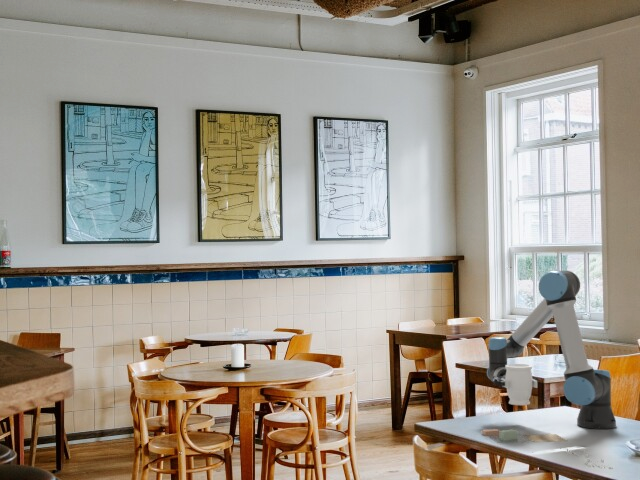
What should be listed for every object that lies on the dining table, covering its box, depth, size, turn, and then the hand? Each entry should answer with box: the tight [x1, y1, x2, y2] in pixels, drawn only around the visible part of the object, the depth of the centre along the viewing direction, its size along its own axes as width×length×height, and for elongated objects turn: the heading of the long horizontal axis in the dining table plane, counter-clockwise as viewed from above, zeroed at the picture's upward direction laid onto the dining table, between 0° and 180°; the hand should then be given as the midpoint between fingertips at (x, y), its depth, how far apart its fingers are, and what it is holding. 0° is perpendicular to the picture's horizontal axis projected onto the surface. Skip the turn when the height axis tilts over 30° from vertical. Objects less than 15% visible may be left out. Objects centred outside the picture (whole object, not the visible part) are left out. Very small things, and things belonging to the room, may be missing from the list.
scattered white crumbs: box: [566, 448, 613, 469], centre depth 277 cm, size 7×25×2 cm, turn 1°
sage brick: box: [498, 429, 518, 440], centre depth 306 cm, size 6×3×3 cm, turn 114°
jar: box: [505, 363, 533, 406], centre depth 321 cm, size 11×10×15 cm
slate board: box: [488, 434, 530, 444], centre depth 306 cm, size 12×12×1 cm
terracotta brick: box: [481, 428, 501, 437], centre depth 314 cm, size 6×3×3 cm, turn 103°
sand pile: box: [522, 433, 568, 443], centre depth 307 cm, size 13×12×1 cm
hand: (522, 384), depth 317 cm, fingers closed on jar, 10 cm apart
